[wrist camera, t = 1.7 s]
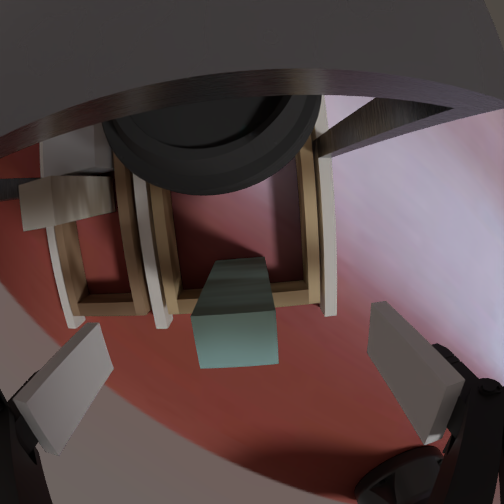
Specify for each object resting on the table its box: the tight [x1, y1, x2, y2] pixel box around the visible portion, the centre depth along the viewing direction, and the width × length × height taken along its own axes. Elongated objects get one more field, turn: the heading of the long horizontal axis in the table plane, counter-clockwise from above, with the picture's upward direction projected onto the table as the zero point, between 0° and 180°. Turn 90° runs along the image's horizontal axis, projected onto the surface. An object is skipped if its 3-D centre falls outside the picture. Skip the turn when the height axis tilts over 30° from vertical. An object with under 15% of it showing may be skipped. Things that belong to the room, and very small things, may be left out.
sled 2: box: [150, 134, 320, 368], centre depth 18 cm, size 20×12×11 cm, turn 5°
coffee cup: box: [102, 95, 322, 195], centre depth 15 cm, size 9×9×15 cm
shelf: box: [0, 0, 504, 201], centre depth 13 cm, size 10×24×20 cm, turn 95°
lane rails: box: [40, 95, 337, 329], centre depth 22 cm, size 23×24×2 cm
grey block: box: [43, 123, 114, 177], centre depth 20 cm, size 5×5×5 cm
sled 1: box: [19, 152, 152, 316], centre depth 19 cm, size 20×8×9 cm, turn 5°
